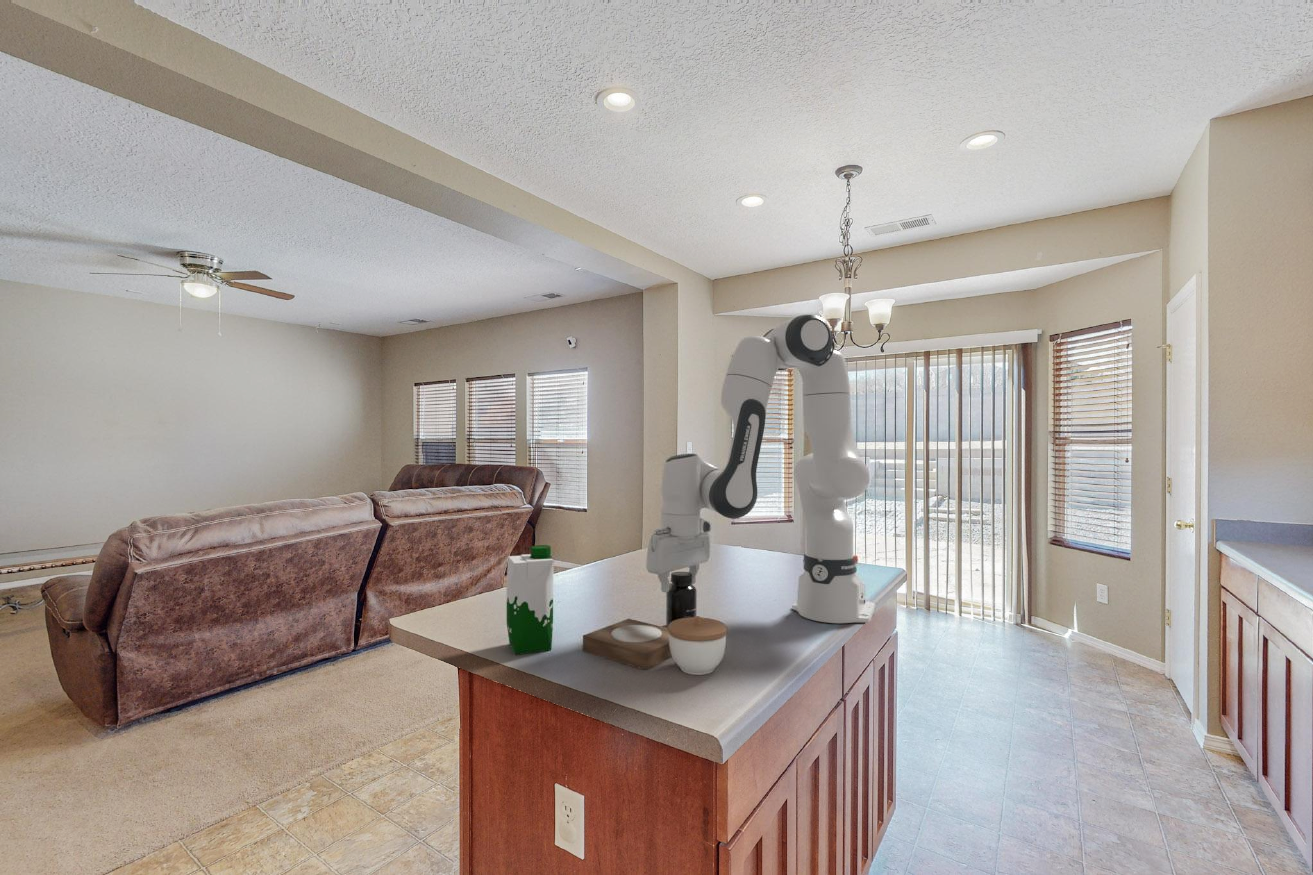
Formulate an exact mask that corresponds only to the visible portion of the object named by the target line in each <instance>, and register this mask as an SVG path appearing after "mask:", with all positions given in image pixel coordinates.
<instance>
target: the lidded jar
mask: <svg viewBox="0 0 1313 875" xmlns="http://www.w3.org/2000/svg"><path fill="white" fill-rule="evenodd" d="M667 628H668V633H669V647H670V652H671V655H672V657H671V658H672V659H673V661H674V662H675V663H676V665H677V666H679V668H680V671H682V673H685V674H688V675H693V676H703V675H708V674H711V673H713V672H714V670H715V669H716V667H718V666H719V665H720V663H721V662H722V660H723V658H724V656H725V652H726V646H727V634H728V633H727V632H728V631H727V630H728V627H727V625H726V624H725V623H724V622H722V621H721V620H717V619H713V618H709V617H701V616H700V615H696V616H695V617H690V618H682V619H677V620H674V621H672V622H671V623H670V624H669V625H668V627H667Z"/></svg>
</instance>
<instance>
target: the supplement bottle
mask: <svg viewBox="0 0 1313 875" xmlns="http://www.w3.org/2000/svg"><path fill="white" fill-rule="evenodd" d="M670 582H671V584H672V587H671V588H672V590H671V591H670V592H667V593H666V595H665V596H666V597H665V598H666V604H665V605H666V608H665V613H666V614H665V616H666V617H665V626H666V628H668V625H669V624H670V623H671V622H672V621H674V620H677V619H682V618H690V617H695V616H698V614H697V611H698V610H697V608H698V607H697V606H698V605H697V603H698V602H697V601H698V600H697V599H698V598H697V596H698V592H697V588H696V586H695V585H694V584H691V583H692V582H693V580H692V573H690V572H689V571H672V572H671V574H670Z"/></svg>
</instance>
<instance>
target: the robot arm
mask: <svg viewBox="0 0 1313 875" xmlns="http://www.w3.org/2000/svg"><path fill="white" fill-rule="evenodd" d="M832 335H833V334H832V331H831V328H830V326H829V324H828V322H826V320H825V319H823V317H821V316H819V315H815V314H801V315H798V316H796V317H794V318H790V319H788V320H786V321H783V322H782V323H780V324H779V325H777V326H776V327H775V328H772V329H769V330H768V331H767V332H766V333H765V334H764V335H763V336H761V335H748V336H746V337H744V338H742V339H741V340H740V341H739V343H738V345H737V347H736V349H735V351H734V352H733V355H732V358H731V360H730V361H729V364H728V367H727V369H726V373H725V377H724V380H723V383H722V388H721V393H720V394H721V396H720V404H721V407H722V408H723V410H724V411H725V413H726V414H727V415H728V416H729V417H730V419H731V421H732V424H733V433H732V434H733V435H732V439H731V444H730V446H729V447H730V448H729V452H728V456H727V462H726V464H725V466H724V468H723V469H722V468H720V467H718V466H715V465H713V464H711V463H709V462H707V461H705V460H704V459H703V458H701V457H700V456H699V455H698V454H697V453H683V454H681V453H680V454H676V455H673V456H672V455H671V456H670V457H668V458H667V459H666V461H665V462H664V464H663V470H662V475H661V476H662V477H661V490H660V491H661V496H662V506H661V508H660V529H656V530H654V532H653V533H652V534H651V536H650V540H649V542H648V546H647V553H646V563H645V564H646V566H645V568H646V570H647V572H648V573H650V574H653V575H654V574H655V575H657V577H658V580H659V582H660V588H661V589H660V590H661V592H662V593H667V592H670V591H671V590H672V588H671V587H672V582H671V583H670V580H669V577H670V572H671V573H672V572H676V571H677V570H682V569H685V568H689V570H688V572H690V573H692V580H693V582H692V583H691V584H692V585H695V584H696V580H697V579H696V578H697V575H698V572H699V569H700V565H701V564H705V563H708V561H709V559H710V557H711V549H712V548H711V546H712V545H711V542H712V539H711V534H710V533H711V532H712V530H713V529H712V528H713V526H712V522H710V521H708V520H705V519H704V518H702V517H701V510H702V509H708V510H710V511H712V512H714V513H718V514H719V515H721V516H722V517H725V518H727V519H733V520H734V519H739V518H743V517H745V516H746V515H748V514H749V513H750V512H751V511H752V510H753V508H754V506H756V505H755V504H756V503H757V500H758V484H757V468H758V463H759V458H760V453H761V448H762V444H763V443H762V442H763V438H764V433H765V426H766V417H767V416H766V415H767V407H768V403H769V399H770V395H771V391H772V388H773V384H774V379H775V376H776V374H777V372H778V371H786V370H789V369H797V371H798V373H799V375H800V378H801V382H802V416H803V417H802V418H803V429H804V432H805V433H806V435H807V437H808V440H809V443H810V447H811V451H812V452H811V453H809V454H807V455H805V456H803V457H801V458H800V459H799V460H798V461H797V462H796V463H795V465H794V469H793V478H794V481H795V483H796V485H797V488H798V492H799V496H800V502H801V507H802V512H803V517H804V518H803V520H804V530H805V532H804V535H805V536H804V537H805V543H804V544H805V546H804V547H805V548H804V549H805V553H804V554H803V560H802V565H803V570H804V571H803V573H801V574H800V575H799V576H798V578H797V580H798V582H797V593H796V594H797V596H796V602H795V603H794V602H793V603H792V604H791V609H792V610H794V611H796V612H798V614H799V615H800V616H801V617H803V618H805V619H808V620H812V621H815V622H819V623H821V622H822V623H830V624H849V623H851V624H852V623H871V621H872V617H873V614H874V612H875V610H876V603H875V602H872V601H869V600H867V598H866V596H867V595H866V591H867V590H866V584H865V583H864V582H863V580H862V579H861V577H860V576H859V575H858V574H857V564H858V563H859V557H858V555H857V554H856V555H855V554H854V525H853V521H852V519H851V517H850V516H849V514H848V510H847V507H846V502H845V501H846V500H851V499H854V498H857V497H860V496H861V495H863V494H864V492H865V491H866V490H867V488H868V487H869V486H868V485H869V484H870V472H869V469H868V467H867V465H866V464H865V462H864V461H863V459H862V458H861V456H860V452H859V450H858V446H857V442H856V439H855V435H854V431H853V430H854V429H853V425H852V411H851V410H852V406H851V405H852V404H851V388H850V377H849V372H848V366H847V362H846V358H845V356H844V354H842V352H840V351H838V350H836V349H835V342H834V340H833V336H832Z"/></svg>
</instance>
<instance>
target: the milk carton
mask: <svg viewBox="0 0 1313 875" xmlns="http://www.w3.org/2000/svg"><path fill="white" fill-rule="evenodd" d="M551 547H552V546H550V545H547V544H546V545H545V544H544V545H543V544H541V545H540V544H539V545H531V547H530V553H529V554H528V553H527V554H520V555H511V556H509V555H508V557H507V568H506V628H507V636H508V642H509V646H510V648H511V649H512V651H513V654H514V655H515V656H518V655H517V654H519V655H526V654H532V653H540V652H547V651H552V648H553V647H552V646H553V644H552V643H553V631H554V630H553V628H554V570H555V569H554V567H555V566H554V565H555V563H554V562H555V561H554V558H553V557H552V551H551V550H552V549H551Z"/></svg>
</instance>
